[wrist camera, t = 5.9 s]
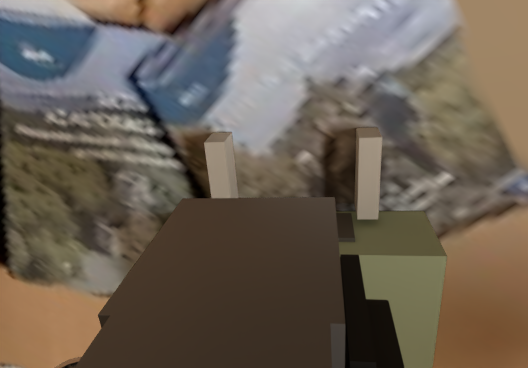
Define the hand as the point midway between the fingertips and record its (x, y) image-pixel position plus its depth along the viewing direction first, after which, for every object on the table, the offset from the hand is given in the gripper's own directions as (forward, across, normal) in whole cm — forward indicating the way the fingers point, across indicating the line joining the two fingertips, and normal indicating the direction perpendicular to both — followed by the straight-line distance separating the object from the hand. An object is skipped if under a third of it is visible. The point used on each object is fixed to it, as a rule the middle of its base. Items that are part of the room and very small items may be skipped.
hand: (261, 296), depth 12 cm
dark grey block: (+1, 0, 0) cm, 1 cm away
